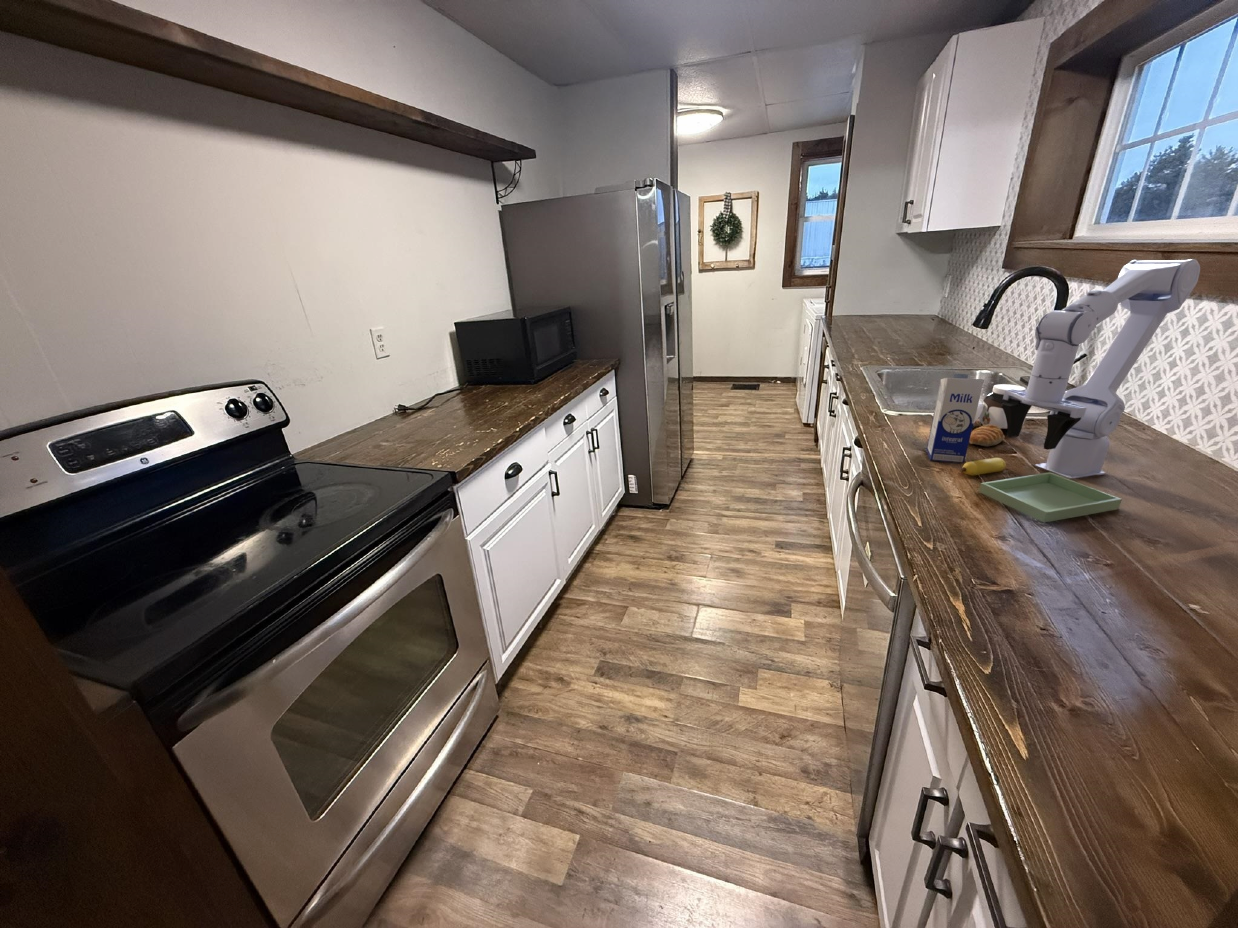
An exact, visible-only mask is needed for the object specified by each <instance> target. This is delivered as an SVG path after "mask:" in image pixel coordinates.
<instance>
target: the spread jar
mask: <svg viewBox="0 0 1238 928" xmlns="http://www.w3.org/2000/svg"><path fill="white" fill-rule="evenodd" d="M1012 389H1013V390H1018V391H1024V392H1026V387H1024V386H1021V385H1017V384H1009V383H1007V384H1006V383H1002V384H1001V383H1000V384H994V385H993V388H992V392H990V393H988V394H987V395H986V396H985V397H984V399H983V400H982V402H980V401H979V403H978V407H977V411H976V415H975V419H974V424H975V423H976V422H977V420H978V419H979V420H978V421H979V423H980V427H981V426H983V425H994V426H997V427H999V428H1000V429H1001V431H1002V432H1003V434H1008V431H1007V420H1006V416H1005V413H1004V410H1003V408H1002V403H1006V402H1007V401H1008V400H1005V399H1003V397H1004V393H1005V390H1012ZM1026 419H1027V416H1026V417H1025V419H1024V422H1023V425H1022V427H1023V426H1024V425H1025V421H1026Z"/></svg>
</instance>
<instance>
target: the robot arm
mask: <svg viewBox="0 0 1238 928" xmlns="http://www.w3.org/2000/svg"><path fill="white" fill-rule="evenodd" d="M1200 273H1201V264H1200V263H1199V261H1198V260H1197V259H1195V258H1192V259H1191V258H1190V259H1181V260H1180V259H1178V260H1177V259H1175V260H1165V259H1164V260H1141V259H1133V260H1131V261H1128V263H1127V264H1125V265H1123V266H1122V268H1121V270H1120V272H1119V274H1118V277H1117V278H1116V279H1115V280H1114V281H1112V282H1111V283H1110V284H1109V285H1107V286H1106V287H1105V288H1104V289H1091V290H1089V291H1087V292H1086V294H1084V295H1083V296H1081V297H1080V298H1079V299H1076V300H1075V301H1074V302H1072V303H1071V304H1069V305H1067V306H1066V307H1063V308H1062V309H1061V310H1052V311H1049V312H1047V313H1045V314H1044V315H1042V317H1041V318H1040V320H1039V321H1038V323H1037V325H1036V326H1035V330H1034V337H1035V345H1034V349H1035V351H1036V353H1035V359H1034V362H1033V366H1032V369H1031V373H1030V377H1029V381H1028V384H1027V386H1026V387H1027V388H1026V390H1025V392H1024V391H1018V390H1013V389H1012V390H1005V393H1004V397H1003V399H1005V400H1008V401H1007V402H1006V403H1002V408H1003V410H1004V413H1005V416H1006V420H1007V431H1008V433H1007V437H1008V438H1013V437H1014V438H1015V437H1019V436H1020V434H1021V432H1022V428H1023V426H1024V424H1023V422H1024V419H1025V420H1026V418H1027V415H1028V413H1029V411H1030V410H1031V408H1032V407H1035V408H1038V409H1039V408H1040V409H1042V410H1043V409H1044V410H1047V411H1050V412H1049V414H1047V415H1046V418H1047V419H1046V420H1047V430H1046V436H1045V439H1044V442H1043V449H1044V450H1046V451H1047V450H1049V453H1048V456H1047V459H1046V462H1042V463H1036V464H1035V467H1039V468H1041V469H1044V470H1047V471H1049V472H1051V473H1054V474H1057V475H1059V476H1062V477H1065V478H1067V479H1078V478H1084V477H1090V476H1103V475H1106V472H1105V471H1103V470H1102V469H1103V466H1104V463H1105V461H1106V458H1107V455H1108V452H1109V449H1110V446H1111V444H1110V443H1111V442H1110V439H1109V437H1108V436H1109V435H1111V434H1112V433H1113V432H1114V431H1115V430H1116V429H1117V427H1118V426H1119V424H1120V422H1121V417H1122V415H1123V413H1124V412H1125V409H1126V404H1125V403H1124V401H1123V400H1122V398H1121V397H1120V396H1119V395H1118V393H1117V392H1118V389H1119V388H1120V387H1121V386H1122V384H1123V382H1124V381H1125V379H1126V378H1127V376H1128V374H1129V373H1130V372H1131V370H1132V368H1133V367H1134V365H1135V364H1136V362H1137V361H1138V359H1139V358H1140V357H1141V354H1142V353H1143V352H1144V350H1145V348H1146V347H1147V346H1148V344H1149V342H1151V340H1152V338H1153V336H1154V335H1155V333H1156V331H1157V330H1158V329H1159V327H1160V326H1161V324H1162V322H1163V321H1164V320H1165V318H1166V316H1167V315H1168V314H1169V313H1172V312H1175V311H1178V310H1180V309H1181V307H1182V305H1183V304H1184V303H1185V302H1186V301H1187V299H1188V298H1189V296H1190V294H1191V293H1192V291H1193V290H1194V289H1195V287H1196V285H1197V283H1198V281H1199V279H1200V278H1199V277H1200ZM1119 304H1120V306H1121V307H1122V308H1123V309H1125V310H1127V311H1128V312H1129V316H1128V317H1127V319H1126V320H1125V321H1124V323H1123V325H1122V326H1121V328H1120V329H1119V331H1118V333H1117V334H1116V336H1115V337H1114V339H1113V340H1112V342H1111V344H1110V345H1109V347H1108V348H1107V350H1106V352H1105V353H1104V355H1103V356H1102V358H1101V360H1100V361H1099V362H1098V364H1097V366H1096V368H1094V370H1093V372H1092V373H1091V375H1090V376H1089V378H1088V380H1087V381H1086V383H1085V384H1082V385H1080V386H1076V387H1073V388H1070V389H1068V390H1067V387H1068V383H1069V379H1070V377H1071V373H1072V370H1073V367H1074V363H1075V360H1076V357H1077V353H1078V350H1079V347H1080V345H1081V344H1084V343H1085V342H1087V340H1088V338H1089V337H1090V336H1091V335H1092V332H1094V331H1095V329H1096V328H1097V325H1099V324H1100V323H1103V321H1105V320H1107V319H1108V318H1110V317H1111V316H1113V315H1114V314H1115V313H1116V311H1117V310H1118V308H1119ZM1025 417H1026V418H1025ZM1024 423H1025V422H1024ZM1022 425H1023V426H1022Z"/></svg>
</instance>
